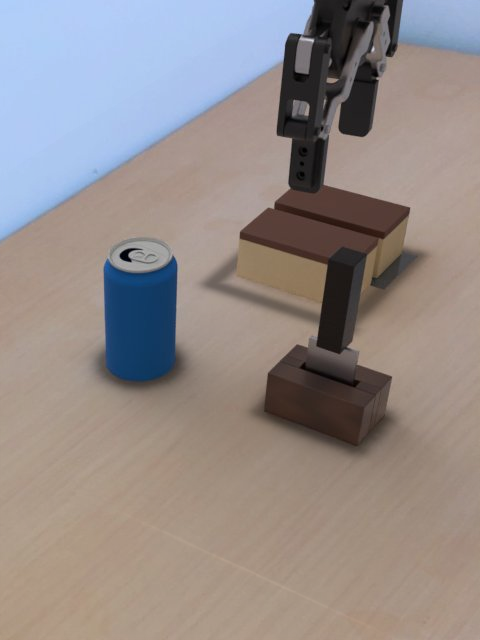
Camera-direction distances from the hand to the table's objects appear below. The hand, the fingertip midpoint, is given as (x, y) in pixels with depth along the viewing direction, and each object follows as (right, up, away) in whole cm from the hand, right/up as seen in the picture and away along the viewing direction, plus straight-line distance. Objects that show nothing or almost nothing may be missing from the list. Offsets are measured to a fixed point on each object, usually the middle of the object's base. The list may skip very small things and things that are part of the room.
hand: (330, 160), depth 76 cm
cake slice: (+8, +3, +34) cm, 35 cm away
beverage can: (-9, -7, +29) cm, 31 cm away
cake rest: (+12, +7, +37) cm, 40 cm away
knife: (+6, -13, +21) cm, 25 cm away
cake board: (+9, +4, +36) cm, 37 cm away
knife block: (+6, -14, +21) cm, 26 cm away
